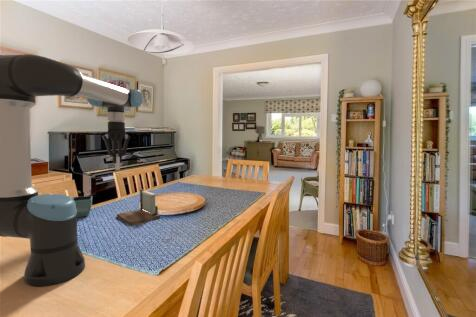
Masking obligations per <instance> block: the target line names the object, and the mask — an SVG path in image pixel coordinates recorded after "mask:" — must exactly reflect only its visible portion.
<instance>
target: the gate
mask: <svg viewBox="0 0 476 317" xmlns="http://www.w3.org/2000/svg"><path fill="white" fill-rule="evenodd" d="M142 194H143V209H144V210H146V211H148V212H150V213H151V214H155V206H156V193H153V192H150V191H147V190H144V191H142Z"/></svg>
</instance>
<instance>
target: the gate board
mask: <svg viewBox="0 0 476 317" xmlns="http://www.w3.org/2000/svg"><path fill="white" fill-rule="evenodd" d="M142 191H145V189H144V188H142V189H140V190H139V197H140V199H139V200H140V201H139V202H140V203H139V204H140V209H135V210H130V211H125V212H120V213H117V214H116V218H118V219H120V220H121V221H123V222H125V223H126V224H128V225H129V226H134V225H138V224H142V223H146V222H150V221H154V220H159V219H161V214H159V208H158V205H155V214H151V213H149V212H145V211H143V210H142V209H143V194H142Z"/></svg>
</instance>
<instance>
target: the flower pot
mask: <svg viewBox="0 0 476 317" xmlns="http://www.w3.org/2000/svg"><path fill="white" fill-rule="evenodd" d="M72 198H73V199H74V201H75V204H76V209H77V218H80V217H81V218H82V217H88V216H90V213H91V210H92V206H93V195H86V196H82V195H81V196H73V197H72Z"/></svg>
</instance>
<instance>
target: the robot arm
mask: <svg viewBox="0 0 476 317" xmlns="http://www.w3.org/2000/svg"><path fill="white" fill-rule="evenodd" d="M47 96H49V97H52V96H62V97H68V98H73V97H76V96H78V97H81V98H86V101H87V102H88V104H89V105H91V106H94V107H96V108H97V107H99V108H105V109H107V121H108V122H107V132H106V133H105V134H104V135H102V136H101V138H102V139H103V140H104V144H105V148H106V150H107V154H108V156H111V157H112V163H113V164H114V169H115V170H116V171H120V170H121V163H123V159H122V158H123V156H125V155H126V154H127V150H128V146H129V141H130V139H131V137H132V136H130V135H128V134H127V132H126V125H125V124H126V123H125V120H126V118H125V116H126V115H125V108H140V107H141V106H142V105H143V98H144V97H143V94H142V92H141V91H140V90H139V89H135V88H134V89H133V88H130V89H129V88H125V87H122V86H118V85H116V84H113V83H111V82H107V81H105V80H102V79H99V78H96V77H94V76H91V75H87V74H86V73H85V74H84V73H82V72H81V71H80V70H79V69H78V68H77V67H75V66H72V65H69V64H66V63H63V62H61V61H58V60H55V59H52V58H48V57H46V56H43V55H42V56H41V55H38V54H32V53H31V54H0V237H5V238H7V237H9V238H20V239H29V246H30V254H29V256H28V261H27V264H26V267H25V269H24V273H23V274H24V276H23V277H24V283H25V284H26V285H28V286H31V287H47V286H53V285H57V284H60V283H63V282H66V281H68V280H71V279H73V278H75V277H76V276H78V275H79V274H81V273H82V272H83V271H84V269H86V268H85V267H86V259H85V256H84V255H83V253H82V252H83V251H82V250H81V248H80V246H79V242H78V217H77V209H76V204H75V201H74V199H73V197H71V196H70V195H66V194H60V193H57V194H56V193H54V194H51V193H45V194H39V190H38V189H37V188H36V187H34V186H33V184H32V181H33V180H32V154H31V153H32V152H31V150H32V149H31V125H30V124H31V121H30V119H31V118H30V109H31V108H34V106H35V105H36V97H47ZM109 139H110V140H111V145H112V146H111V145H110V140H109ZM123 139H124V142H123ZM122 143H123V144H122Z"/></svg>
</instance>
